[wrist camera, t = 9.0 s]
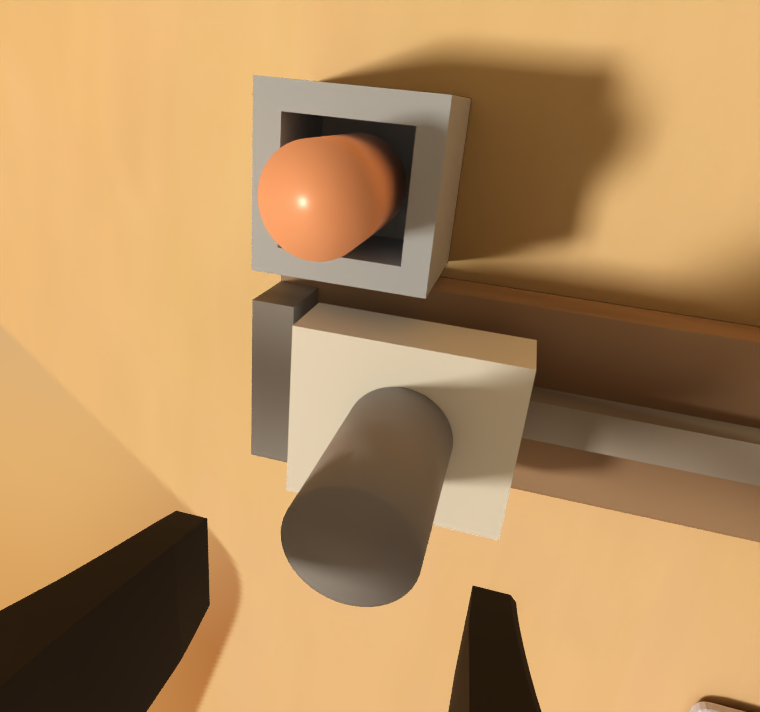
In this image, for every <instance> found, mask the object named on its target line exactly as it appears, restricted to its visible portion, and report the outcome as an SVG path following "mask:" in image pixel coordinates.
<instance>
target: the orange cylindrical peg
mask: <svg viewBox="0 0 760 712" xmlns="http://www.w3.org/2000/svg"><path fill="white" fill-rule="evenodd" d="M406 190H407V180H406V173H405V169H404V166H403V163H402V161H401V159H400V157H399V156H398V154H397V153H396V151H395V150H394V149H393V148H392V147H391V146H390V145H389V144H388V143H387V142H385V141H384V140H382V139H381V138H379V137H377V136H374V135H371V134H367V133H348V134H339V135H331V136H322V137H313V138H304V139H299V140H295V141H292V142H290V143H287V144H286V145H284V146H282V147H281V148H279V149H278V150H277V151H276V152H275V153H274V154H273V155H272V156H271V157H270V158H269V160H268V161H267V163H266V164H265V167H264V169H263V171H262V173H261V176H260V180H259V185H258V206H259V211H260V215H261V218H262V220H263V223H264V225H265V227H266V229H267V231H268V232H269V234H270V235H271V237H272V238H273V239H274V240H275V241H276V243H277V244H278V245H279V246H281V247H282V248H283V249H284V250H286V251H287V252H288V253H290V254H292V255H294V256H296V257H298V258H301V259H303V260H307V261H314V262H326V261H331V260H335V259H337V258H340V257H342V256H344V255H346V254H347V253H349V252H350V251H351V250H353V249H354V248H356V247H357V246H358V245H360V244H361V243H362V242H364V241H365V240H366V239H368V238H369V237H370V236H372V235H373V234H375V233H376V232H377V231H379V230H380V229H381V228H383V227H384V226H385V225H387V224H388V223H389V222H391V221H392V220H393V219H394V218H395V216H396V215H397V214H398V212H399V211H400V209H401V207H402V205H403V203H404V199H405V196H406Z"/></svg>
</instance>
